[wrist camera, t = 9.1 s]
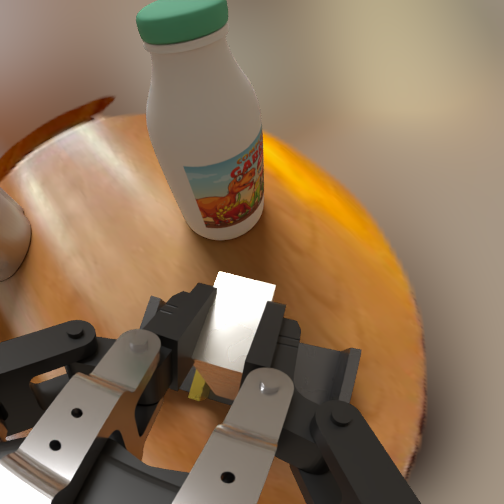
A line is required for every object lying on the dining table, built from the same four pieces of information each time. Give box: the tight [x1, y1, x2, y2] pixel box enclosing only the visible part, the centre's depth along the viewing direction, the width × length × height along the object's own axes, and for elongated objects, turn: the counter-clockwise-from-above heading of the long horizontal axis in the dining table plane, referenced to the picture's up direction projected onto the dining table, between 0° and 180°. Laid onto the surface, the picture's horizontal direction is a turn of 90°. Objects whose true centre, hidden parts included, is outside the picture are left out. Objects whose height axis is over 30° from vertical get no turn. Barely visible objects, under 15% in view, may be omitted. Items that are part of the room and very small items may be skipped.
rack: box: [140, 296, 361, 405], centre depth 21 cm, size 6×15×4 cm, turn 75°
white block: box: [192, 272, 276, 400], centre depth 14 cm, size 4×2×10 cm, turn 165°
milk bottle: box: [136, 0, 264, 240], centre depth 20 cm, size 8×8×20 cm
